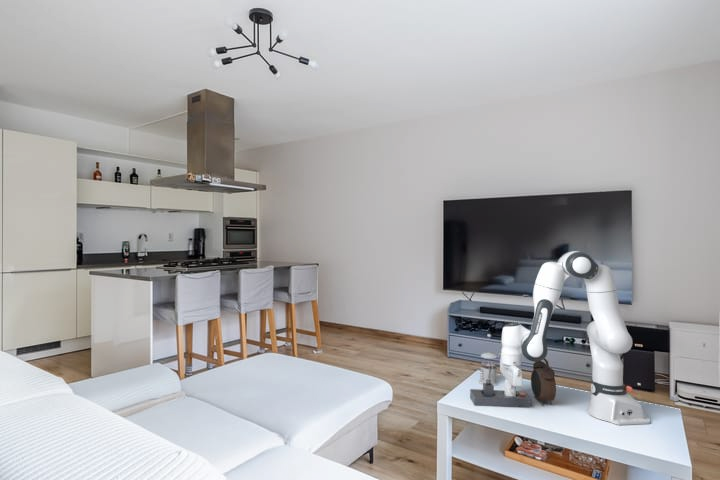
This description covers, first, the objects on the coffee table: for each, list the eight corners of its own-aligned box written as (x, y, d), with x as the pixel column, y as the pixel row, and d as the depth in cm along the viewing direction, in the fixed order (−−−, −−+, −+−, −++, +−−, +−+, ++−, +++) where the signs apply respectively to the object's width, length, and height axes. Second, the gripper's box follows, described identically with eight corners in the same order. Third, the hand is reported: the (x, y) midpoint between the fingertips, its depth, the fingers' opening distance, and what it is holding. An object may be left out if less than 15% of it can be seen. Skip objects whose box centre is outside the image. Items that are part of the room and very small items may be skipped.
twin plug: (491, 401, 186) (492, 379, 186) (493, 403, 183) (493, 381, 183) (482, 400, 186) (483, 378, 186) (484, 403, 183) (484, 381, 183)
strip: (523, 400, 188) (523, 390, 188) (530, 407, 179) (530, 397, 179) (470, 397, 189) (470, 387, 189) (474, 405, 180) (474, 395, 180)
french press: (496, 380, 214) (497, 332, 214) (500, 388, 203) (501, 337, 203) (476, 379, 216) (477, 331, 216) (480, 386, 204) (481, 336, 204)
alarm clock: (528, 395, 193) (528, 353, 193) (543, 396, 193) (544, 353, 193) (540, 408, 179) (541, 362, 179) (557, 408, 178) (558, 363, 178)
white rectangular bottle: (513, 397, 185) (513, 375, 185) (515, 400, 182) (516, 377, 182) (504, 397, 185) (505, 375, 185) (506, 399, 182) (507, 377, 182)
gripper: (526, 366, 173) (525, 399, 173) (511, 353, 194) (510, 382, 193) (511, 366, 173) (510, 398, 173) (497, 352, 194) (496, 382, 194)
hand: (510, 390), depth 184 cm, fingers closed on white rectangular bottle, 3 cm apart
